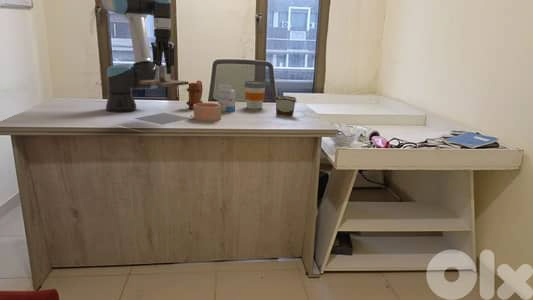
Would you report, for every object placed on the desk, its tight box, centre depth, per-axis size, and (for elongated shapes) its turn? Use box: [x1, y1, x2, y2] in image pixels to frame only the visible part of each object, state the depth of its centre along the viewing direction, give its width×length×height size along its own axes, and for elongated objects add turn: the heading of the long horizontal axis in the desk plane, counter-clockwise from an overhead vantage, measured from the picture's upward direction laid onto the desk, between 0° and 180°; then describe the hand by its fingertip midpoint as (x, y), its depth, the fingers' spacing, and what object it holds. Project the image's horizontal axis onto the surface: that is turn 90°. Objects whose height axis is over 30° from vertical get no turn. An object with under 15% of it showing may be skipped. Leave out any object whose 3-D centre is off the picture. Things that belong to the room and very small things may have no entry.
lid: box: [139, 65, 190, 88], centre depth 180 cm, size 16×16×8 cm
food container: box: [274, 95, 297, 117], centre depth 209 cm, size 12×6×10 cm, turn 65°
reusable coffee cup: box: [243, 80, 267, 110], centre depth 226 cm, size 13×13×15 cm
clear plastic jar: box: [217, 83, 236, 113], centre depth 213 cm, size 9×5×15 cm, turn 68°
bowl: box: [193, 102, 222, 122], centre depth 190 cm, size 13×13×7 cm
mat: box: [133, 112, 191, 126], centre depth 186 cm, size 19×19×1 cm
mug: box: [186, 80, 204, 110], centre depth 216 cm, size 15×8×15 cm, turn 168°
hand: (164, 80), depth 181 cm, fingers closed on lid, 4 cm apart
